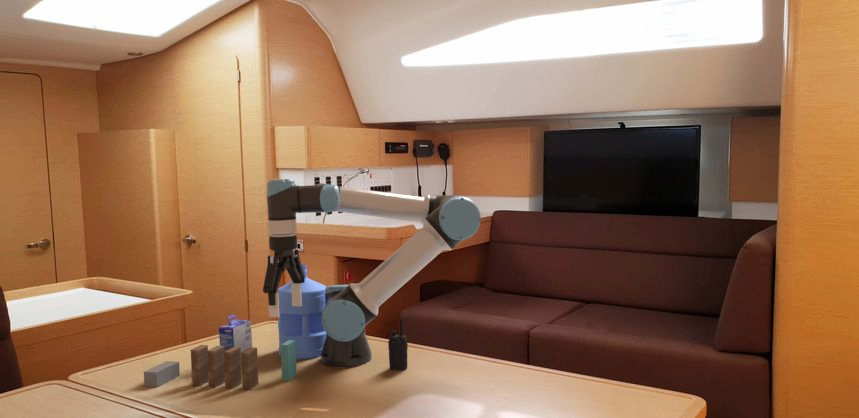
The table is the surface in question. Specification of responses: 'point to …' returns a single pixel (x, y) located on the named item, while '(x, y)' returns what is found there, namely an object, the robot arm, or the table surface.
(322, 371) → the table surface
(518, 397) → the table surface
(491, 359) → the table surface
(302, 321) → the water jug
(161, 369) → the block
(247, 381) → the domino
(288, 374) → the teal domino
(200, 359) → the domino
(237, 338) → the ink cartridge box
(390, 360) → the two-way radio
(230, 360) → the domino
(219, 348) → the domino
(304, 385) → the table surface
